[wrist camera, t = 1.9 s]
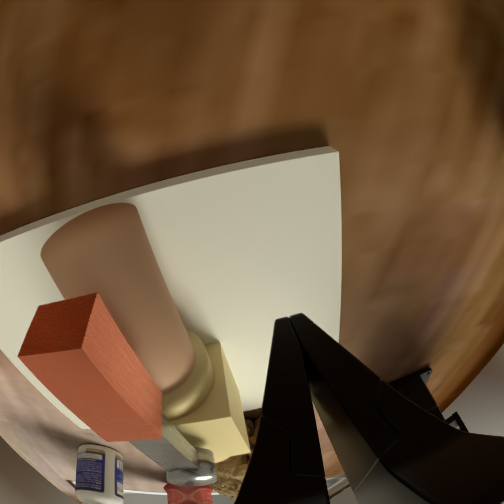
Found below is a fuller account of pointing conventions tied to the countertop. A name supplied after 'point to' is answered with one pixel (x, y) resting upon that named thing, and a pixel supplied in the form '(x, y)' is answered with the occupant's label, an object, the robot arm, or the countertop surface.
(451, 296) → the countertop surface
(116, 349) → the valve lever
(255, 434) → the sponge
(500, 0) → the countertop surface
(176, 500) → the liquor
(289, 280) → the valve board
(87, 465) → the pill bottle
